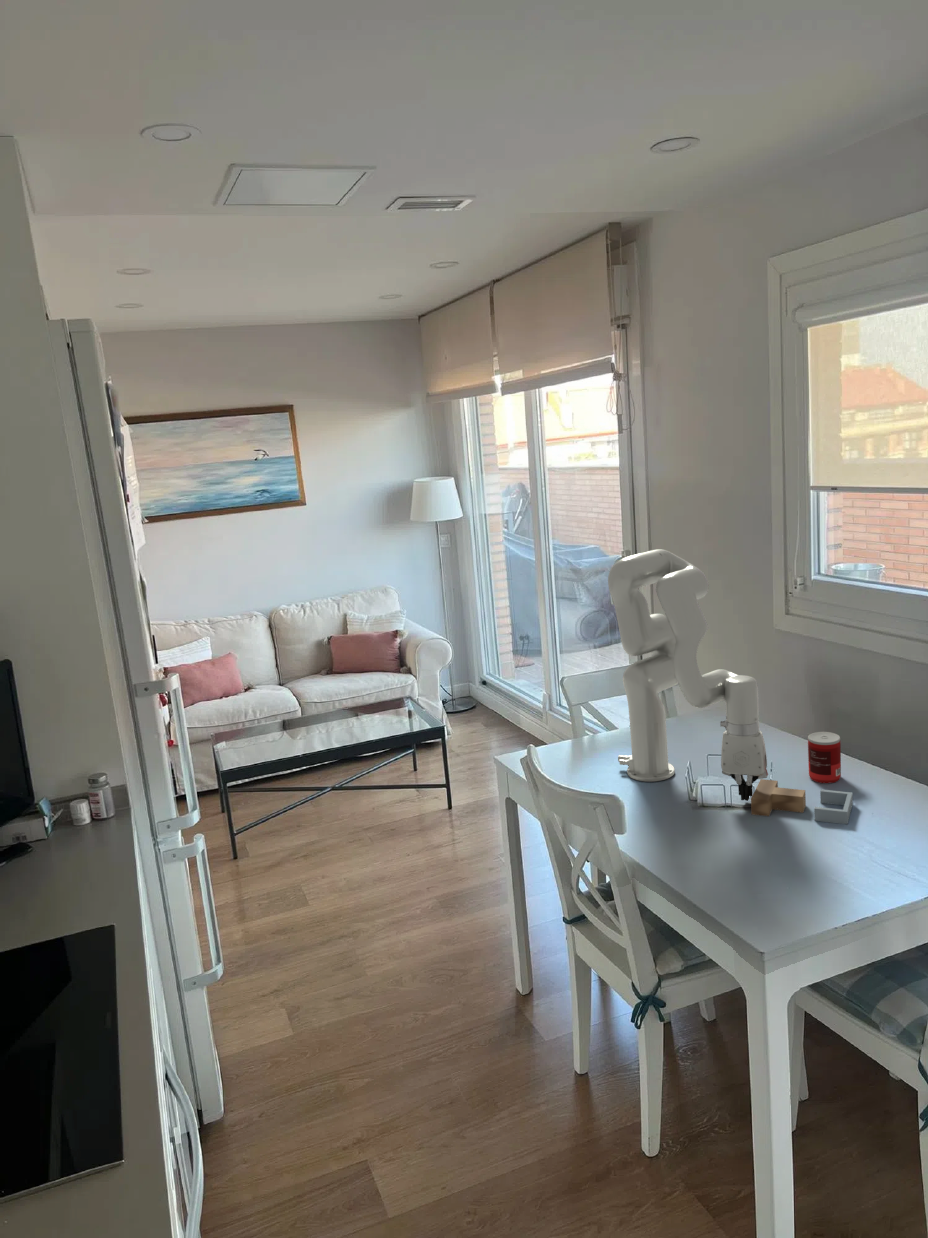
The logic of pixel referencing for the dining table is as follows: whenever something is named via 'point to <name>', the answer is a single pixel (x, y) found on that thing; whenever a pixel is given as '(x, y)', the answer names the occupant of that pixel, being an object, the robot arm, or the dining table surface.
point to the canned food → (824, 757)
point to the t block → (776, 799)
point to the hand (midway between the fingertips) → (745, 798)
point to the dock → (834, 814)
